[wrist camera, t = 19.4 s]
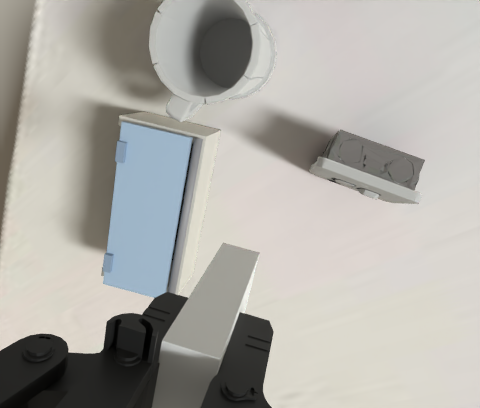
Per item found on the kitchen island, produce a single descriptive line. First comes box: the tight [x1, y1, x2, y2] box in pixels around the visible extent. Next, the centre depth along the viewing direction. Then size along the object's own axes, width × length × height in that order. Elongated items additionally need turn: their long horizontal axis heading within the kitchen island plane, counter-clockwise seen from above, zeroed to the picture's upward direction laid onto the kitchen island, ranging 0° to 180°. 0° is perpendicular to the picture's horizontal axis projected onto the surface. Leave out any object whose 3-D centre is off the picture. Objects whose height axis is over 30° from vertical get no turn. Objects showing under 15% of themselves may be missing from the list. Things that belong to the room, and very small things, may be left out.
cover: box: [103, 121, 203, 298], centre depth 41 cm, size 18×8×2 cm, turn 168°
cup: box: [149, 0, 277, 122], centre depth 37 cm, size 10×9×12 cm
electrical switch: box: [309, 130, 425, 204], centre depth 39 cm, size 9×5×9 cm, turn 71°
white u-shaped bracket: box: [101, 112, 221, 295], centre depth 45 cm, size 18×9×6 cm, turn 168°
